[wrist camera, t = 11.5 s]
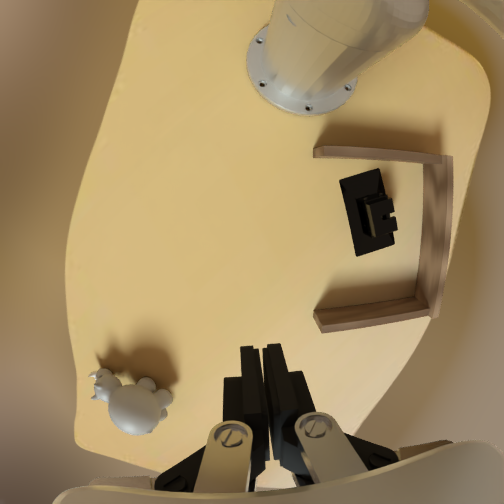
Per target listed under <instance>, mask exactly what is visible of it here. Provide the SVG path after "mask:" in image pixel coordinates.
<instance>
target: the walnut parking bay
mask: <svg viewBox="0 0 504 504" xmlns="http://www.w3.org/2000/svg"><path fill="white" fill-rule="evenodd" d="M313 158H345V159H369V160H386V161H399V162H411V163H421V164H423V173H424V193H423V222H422V237H421V249H420V259H419V268H418V276H417V283H416V290H415V297H411V298H404V299H398V300H391V301H385V302H378V303H370V304H363V305H355V306H347V307H339V308H330V309H321V310H314V313H313V318H314V320H315V321H316V323H317V325H318V327H319V329H320V331H321V333H329V332H337V331H344V330H351V329H358V328H364V327H370V326H376V325H382V324H388V323H393V322H399V321H404V320H409V319H414V318H419V317H424V316H430V317H431V318H432V319H434V318H438V315H439V311H440V305H441V300H442V296H443V290H444V284H445V278H446V272H447V265H448V257H449V249H450V239H451V227H452V211H453V156H448V155H435V154H428V153H420V152H411V151H402V150H391V149H380V148H366V147H348V146H321V147H318V148H315V149H313Z"/></svg>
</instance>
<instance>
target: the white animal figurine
mask: <svg viewBox="0 0 504 504" xmlns="http://www.w3.org/2000/svg"><path fill="white" fill-rule="evenodd" d="M88 377H95V378H94V379H96V383H95V384H94V390H95V395H94V396H93V397H91V399H92V400H98V399H101V400H102V401H104V402H107V403H109V405H108V411H109V415H110V418H111V420H112V421H113V423H114V424H115V425H116V426H117V427H118V428H119V429H120V430H122V431H123V432H125V433H127V434H131V435H144V434H148V433H151V432H152V431H153V430H154V429H155V427H156V426H157V425H158V423H159V422H160V421H162V420H164V419H165V418H166V417H167V410H166V407H168V406H169V405H170V404H171V403H172V401H173V397H172V395H171V393H170V392H169V391H167V390H166V389H159V390H157V391H156V393H153V392H154V391H155V390H156V385H155V383H154V381H153V380H152V379H151V378H149V377H143V378H141V379H140V380H139V381H138V382H137V384H136V385H134V384H130V385H124V386H122V384H121V382H120V380H119V379H118V378H117V377H115V376H113V374H112V372H111V371H110V370H108V369H105V368H103V369H102V368H101V369H99V370H98V371H95V372H91V373H90V374H89V376H88Z"/></svg>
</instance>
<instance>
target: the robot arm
mask: <svg viewBox="0 0 504 504" xmlns="http://www.w3.org/2000/svg"><path fill="white" fill-rule="evenodd" d="M458 1H460V2H461V3H463V4H465V5H466V6H468V7H469V8H470V9H471V10H473V11H474V12H475V13H476V14H477V15H478V16H479V17H481V18H482V19H483V20H484V21H485V22H486V23H487V24H488V25H489V26H490V27H492V28H493V29H494V30H495V31H496V32H497V33H498V34H499V35H500V36H501V37H502V38H503V39H504V0H458ZM428 11H429V0H275V3H274V7H273V11H272V15H271V19H270V23H269V25H267V26H266V27H264V28H263V29H261V30H260V31H259V32H258V33H257V34H256V35H255V36H254V38H253V40H252V41H251V43H250V45H249V49H248V52H247V59H246V61H247V71H248V74H249V78H250V80H251V82H252V84H253V86H254V87H255V89H256V90H257V91H258V92H259V94H260V95H261V96H262V97H263V98H264V99H266V100H267V101H268V102H269V103H270V104H272V105H274V106H275V107H277V108H279V109H281V110H283V111H286V112H288V113H292V114H296V115H302V116H316V115H322V114H326V113H329V112H331V111H333V110H335V109H337V108H339V107H340V106H341V105H343V104H344V103H345V102H346V101H347V100H348V99H349V98H350V97H351V95H352V94H353V92H354V90H355V87H356V84H357V77H358V76H359V75H360V74H361V73H363V72H364V71H366V70H367V69H368V68H370V67H371V66H373V65H374V64H375V63H377V62H378V61H380V60H381V59H383V58H384V57H385V56H387V55H388V54H390V53H391V52H393V51H394V50H396V49H397V48H399V47H400V46H402V45H403V44H404V43H406V42H407V41H409V40H410V39H412V38H413V37H414V36H415V35H416V34H417V33H418V32H419V31H420V30H421V29H422V27H423V26H424V23H425V21H426V19H427V16H428ZM258 42H260V43H261V44H259V43H258ZM260 84H264V87H261V86H260ZM345 88H346V89H347V90H346V89H345ZM305 107H308V108H309V111H307V110H306V109H305ZM262 350H263V372H264V382H263V375H262V368H261V362H260V355H259V349H253V346H241V347H240V352H241V372H242V377H225V378H224V390H223V422H221V423H219V424H217V425H216V426H214V427H213V428H212V430H211V431H210V433H209V437H208V441H207V444H206V445H205V446H204V447H202V448H201V449H199V450H198V451H196V452H195V453H193V454H192V455H190V456H189V457H187V458H186V459H184V460H183V461H181V462H180V463H178V464H176V465H175V466H173V467H172V468H170V469H168V470H167V471H165V472H163V473H162V474H161V475H159V476H158V477H156V478H150V476H134V477H99V478H95V479H94V480H92V481H91V482H90V483H89V484H88V486H84V487H77V488H73V489H69V490H66V491H64V492H62V493H61V494H60V495H59V496H58V497H57V498H56V499H55V500H54V502H53V503H52V504H504V453H503V452H502V451H501V450H500V449H499V448H498V447H496V446H495V445H494V444H492V443H490V442H488V441H484V440H468V441H461V442H456V443H453V442H452V441H448V440H439V441H435V442H430V443H425V444H420V445H414V446H408V447H402V448H399V449H398V450H397V451H392V450H391V449H388V448H386V447H383V446H380V445H377V444H374V443H371V442H368V441H365V440H362V439H359V438H357V437H354V436H351V435H349V434H346V433H343V431H342V430H341V428H340V427H339V425H338V423H337V422H336V420H335V419H334V418H333V417H332V416H330V415H328V414H326V413H322V412H316V409H315V406H314V404H313V401H312V398H311V395H310V392H309V389H308V386H307V383H306V380H305V377H304V375H303V372H302V371H294V372H288V369H287V365H286V362H285V358H284V354H283V351H282V347H281V344H280V343H277V344H267V348H263V349H262ZM269 430H270V437H271V443H272V450H273V456H274V460H280V466H283V468H285V469H287V470H289V471H291V473H292V477H293V480H294V482H295V484H296V487H294V488H287V489H279V490H270V491H259V492H256V486H257V476H258V475H259V474H261V473H262V472H263V471H264V470H265V469H266V468H265V461H270V451H269Z"/></svg>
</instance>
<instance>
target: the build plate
mask: <svg viewBox="0 0 504 504" xmlns="http://www.w3.org/2000/svg"><path fill="white" fill-rule="evenodd" d="M339 183H340V187H341V191H342V195H343V199H344V203H345V207H346V211H347V216H348V220H349V225H350V229H351V234H352V239H353V244H354V249H355V254H356V256H357V257H358V256H361V255H364V254H367V253H370V252H373V251H376V250H379V249H382V248H385V247H389V246H392V245H394V244H395V241H394V235H393V232H394V231H397V230H398V228H397V222H396V217H394V216H393V217H390V213H393V212H395V211H394V206H393V200H392V198H388V196H387V195H386V194H385V189H384V185H383V181H382V176H381V172H380V169H379V168H377V169H374V170H370V171H367V172H364V173H360V174H357V175H354V176H350V177H347V178H344V179H341V180H339Z"/></svg>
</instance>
